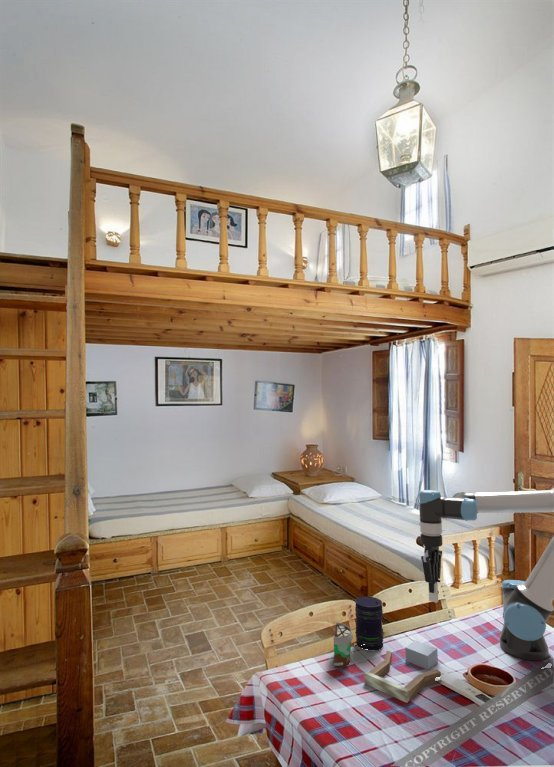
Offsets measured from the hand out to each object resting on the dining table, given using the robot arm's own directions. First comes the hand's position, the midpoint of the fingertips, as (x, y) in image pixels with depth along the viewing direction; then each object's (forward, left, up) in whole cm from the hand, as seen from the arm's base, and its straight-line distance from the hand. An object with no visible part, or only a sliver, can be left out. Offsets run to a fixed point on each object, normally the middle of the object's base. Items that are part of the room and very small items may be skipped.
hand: (433, 601), depth 156 cm
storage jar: (+19, +13, -17) cm, 28 cm away
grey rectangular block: (0, +11, -17) cm, 20 cm away
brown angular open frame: (0, +26, -16) cm, 31 cm away
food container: (+19, +29, -17) cm, 38 cm away
